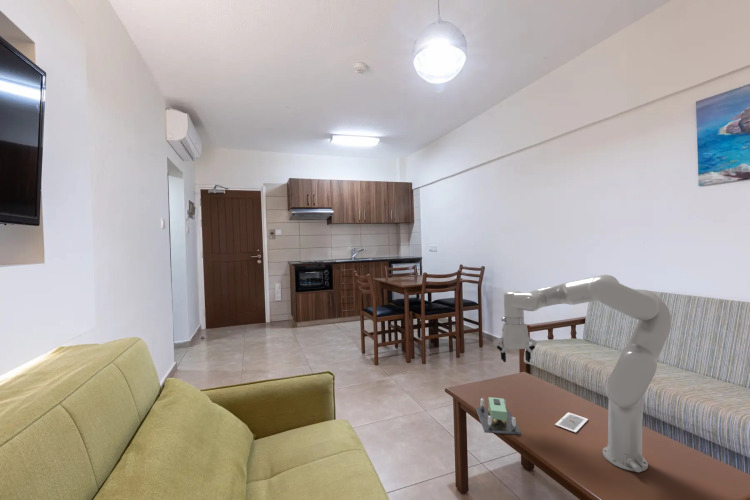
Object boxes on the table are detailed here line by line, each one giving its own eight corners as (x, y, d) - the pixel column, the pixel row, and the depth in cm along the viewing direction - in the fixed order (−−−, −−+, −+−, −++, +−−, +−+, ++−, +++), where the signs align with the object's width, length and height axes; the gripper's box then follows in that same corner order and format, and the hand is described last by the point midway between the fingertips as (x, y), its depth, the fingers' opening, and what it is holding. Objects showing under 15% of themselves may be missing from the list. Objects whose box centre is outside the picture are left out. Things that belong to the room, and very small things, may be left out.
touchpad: (588, 421, 142) (588, 416, 142) (575, 435, 132) (575, 429, 132) (568, 414, 148) (568, 409, 148) (554, 427, 138) (554, 421, 138)
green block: (506, 420, 135) (506, 410, 135) (491, 418, 136) (491, 408, 136) (502, 406, 146) (502, 397, 146) (488, 404, 148) (488, 395, 148)
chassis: (520, 434, 132) (521, 419, 131) (484, 432, 133) (484, 417, 133) (508, 411, 149) (508, 398, 149) (476, 410, 151) (476, 397, 151)
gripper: (495, 322, 137) (497, 364, 137) (539, 322, 135) (540, 364, 135) (490, 319, 145) (492, 358, 145) (532, 318, 143) (533, 358, 143)
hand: (515, 361), depth 140 cm, fingers open, 9 cm apart
